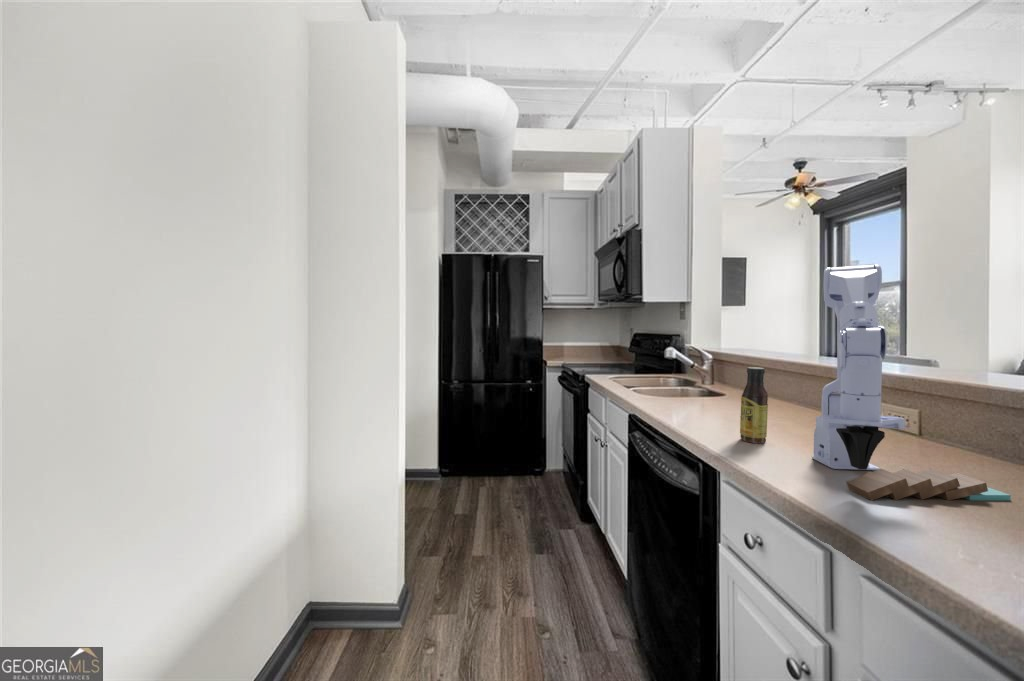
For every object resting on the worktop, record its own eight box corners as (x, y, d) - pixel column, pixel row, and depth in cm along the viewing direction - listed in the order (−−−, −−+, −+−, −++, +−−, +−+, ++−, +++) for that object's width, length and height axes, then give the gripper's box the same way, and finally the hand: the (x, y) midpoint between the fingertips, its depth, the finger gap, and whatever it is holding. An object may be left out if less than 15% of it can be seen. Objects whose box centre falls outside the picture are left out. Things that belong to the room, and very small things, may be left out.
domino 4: (945, 491, 75) (986, 482, 74) (919, 481, 80) (957, 472, 79) (947, 500, 75) (988, 491, 74) (921, 489, 80) (959, 480, 79)
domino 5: (970, 495, 75) (1010, 495, 74) (941, 484, 80) (979, 484, 79) (969, 503, 75) (1010, 504, 74) (941, 492, 80) (979, 492, 79)
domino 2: (892, 492, 75) (930, 478, 75) (868, 481, 80) (903, 469, 80) (895, 500, 75) (933, 486, 75) (871, 489, 80) (906, 476, 80)
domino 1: (868, 492, 75) (905, 478, 74) (846, 481, 80) (881, 468, 79) (871, 500, 75) (908, 486, 75) (848, 489, 80) (884, 476, 80)
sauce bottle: (735, 438, 116) (736, 366, 116) (758, 438, 116) (759, 366, 116) (748, 444, 110) (749, 368, 109) (772, 444, 110) (773, 368, 109)
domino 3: (919, 491, 75) (957, 477, 75) (894, 481, 80) (929, 468, 80) (922, 499, 75) (960, 486, 75) (896, 489, 80) (932, 476, 80)
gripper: (836, 397, 73) (834, 475, 73) (922, 397, 73) (919, 475, 73) (808, 391, 80) (807, 462, 80) (886, 390, 80) (884, 462, 80)
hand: (858, 467), depth 77 cm, fingers closed
